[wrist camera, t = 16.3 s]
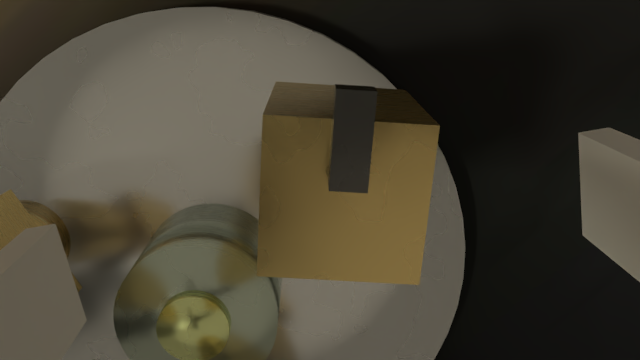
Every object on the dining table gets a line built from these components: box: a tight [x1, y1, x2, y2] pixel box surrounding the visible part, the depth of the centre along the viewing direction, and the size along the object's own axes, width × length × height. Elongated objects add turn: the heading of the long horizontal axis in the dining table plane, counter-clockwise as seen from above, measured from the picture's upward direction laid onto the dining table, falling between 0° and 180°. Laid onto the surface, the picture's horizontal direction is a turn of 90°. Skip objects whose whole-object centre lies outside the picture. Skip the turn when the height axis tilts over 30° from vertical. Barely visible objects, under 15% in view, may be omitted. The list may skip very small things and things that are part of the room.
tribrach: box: [0, 6, 465, 360], centre depth 24 cm, size 22×22×6 cm
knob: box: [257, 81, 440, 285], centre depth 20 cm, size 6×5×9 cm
